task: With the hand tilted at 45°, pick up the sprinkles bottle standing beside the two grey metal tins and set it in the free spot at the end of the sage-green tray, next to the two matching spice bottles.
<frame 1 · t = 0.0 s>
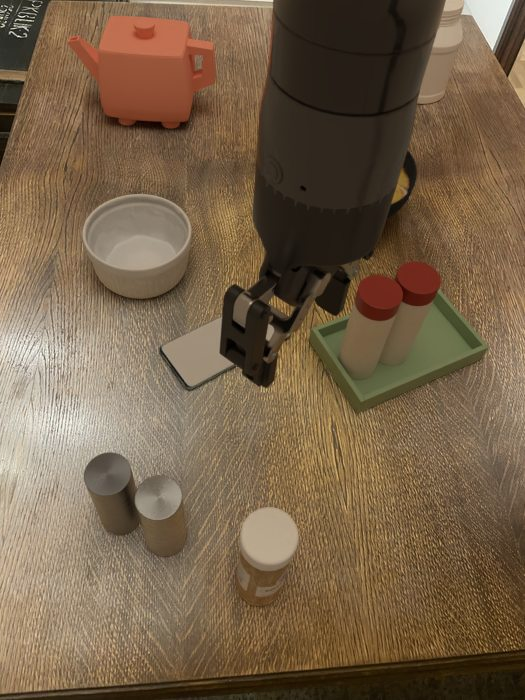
hand: (295, 341, 44), 24 cm above the table, tool pointing down, fingers open, 8 cm apart
teapot: (148, 110, 100), on the table
sprinkles bottle: (259, 581, 57), on the table
tray: (395, 350, 74), on the table
grey tin A: (166, 536, 59), on the table
jar: (413, 87, 109), on the table
spice bottle A: (389, 349, 73), point 1 cm above the table, touching tray
grey tin B: (122, 515, 60), on the table
ramekin: (142, 270, 79), on the table
bowl: (341, 214, 88), on the table
smartphone: (226, 343, 73), on the table
spice bottle B: (356, 363, 72), point 1 cm above the table, touching tray
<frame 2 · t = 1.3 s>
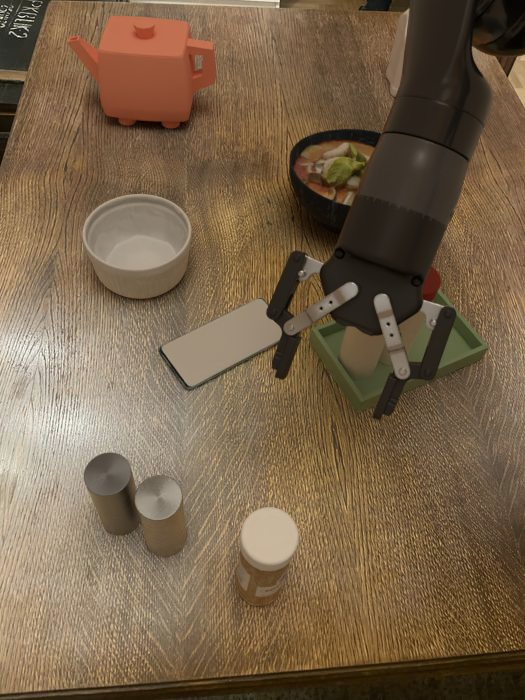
hand: (327, 397, 50), 17 cm above the table, tool tilted 45°, fingers open, 8 cm apart
nothing on the table moved.
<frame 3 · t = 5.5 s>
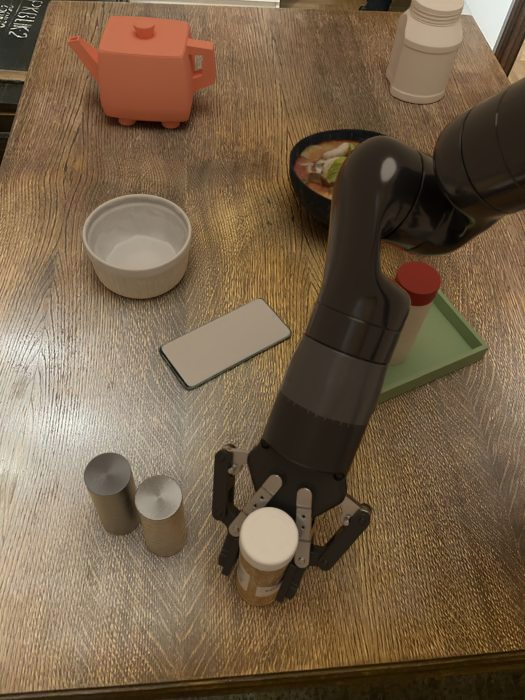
hand: (254, 583, 51), 6 cm above the table, tool tilted 45°, fingers closed on sprinkles bottle, 4 cm apart
sprinkles bottle: (259, 581, 57), on the table, touching gripper
everything else where it was.
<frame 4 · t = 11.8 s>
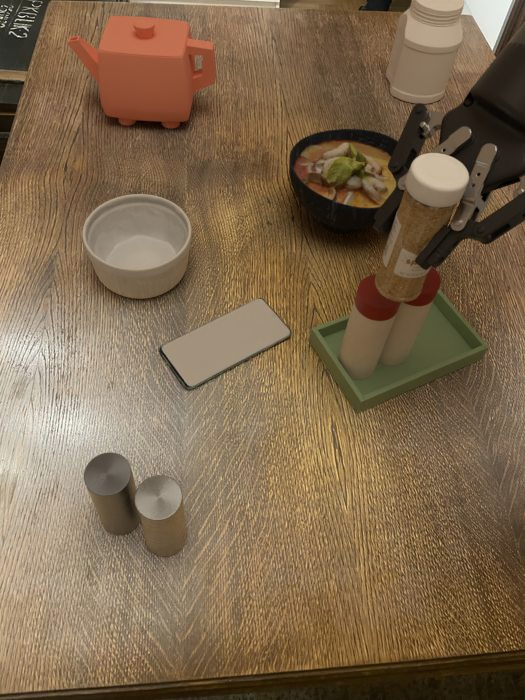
hand: (399, 248, 51), 23 cm above the table, tool tilted 45°, fingers closed on sprinkles bottle, 4 cm apart
sprinkles bottle: (397, 287, 57), point 17 cm above the table, touching gripper
everything else where it was.
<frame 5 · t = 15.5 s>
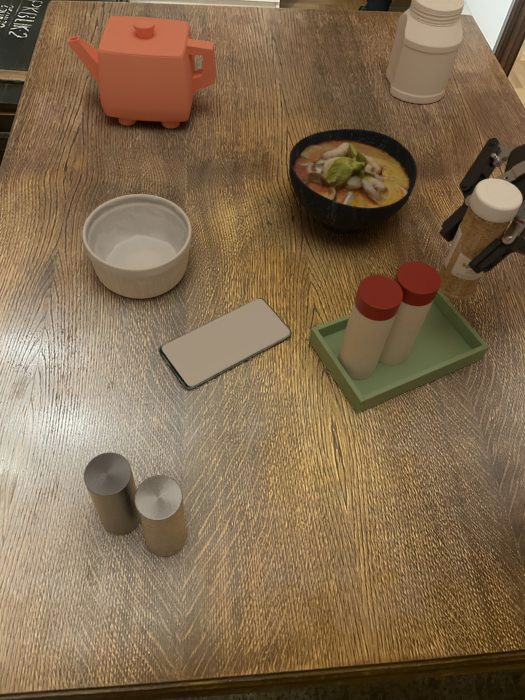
hand: (458, 253, 63), 15 cm above the table, tool tilted 45°, fingers closed on sprinkles bottle, 4 cm apart
sprinkles bottle: (454, 287, 68), point 9 cm above the table, touching gripper
everything else where it was.
when the fingers open (7 cm above the table, at t = 18.3 s): sprinkles bottle stays where it is, resting on tray.
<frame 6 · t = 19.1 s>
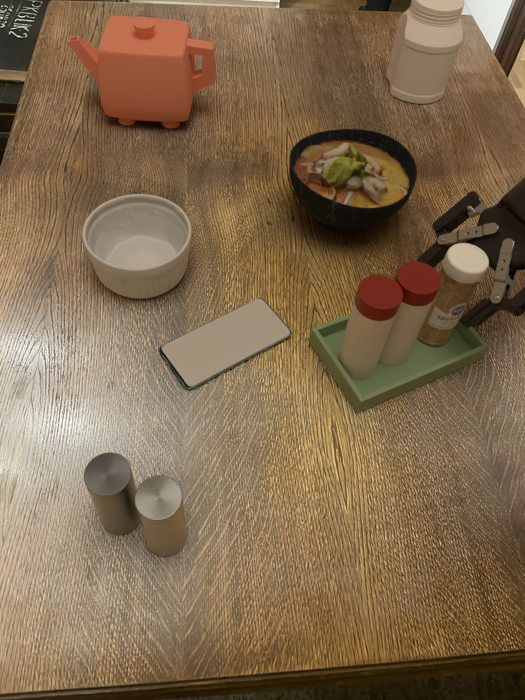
hand: (440, 297, 69), 8 cm above the table, tool tilted 45°, fingers open, 8 cm apart
sprinkles bottle: (431, 333, 75), resting on tray
everything else where it was.
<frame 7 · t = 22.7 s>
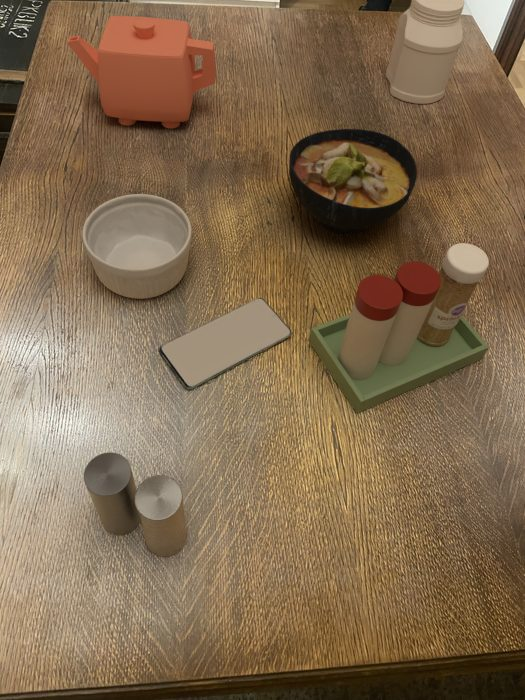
nothing on the table moved.
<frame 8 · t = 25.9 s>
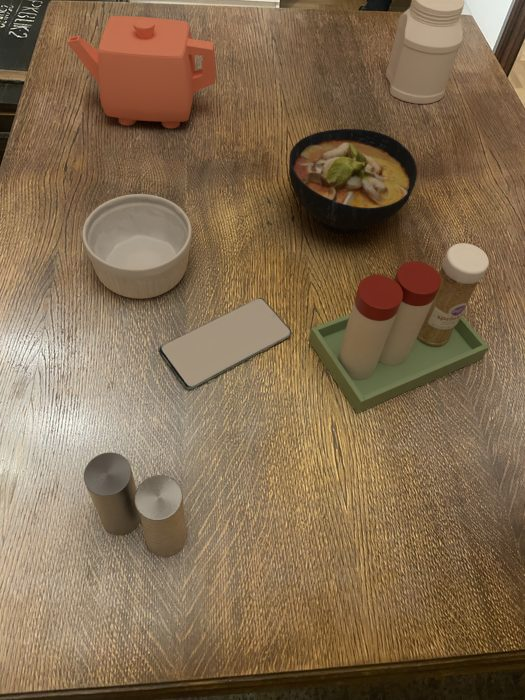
nothing on the table moved.
at the end: sprinkles bottle 0.2 cm from the target spot in the tray, point 0.4 cm above the tray's base; sprinkles bottle tilted 0°; sprinkles bottle 6.4 cm from the spice bottle A (horizontally) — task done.
